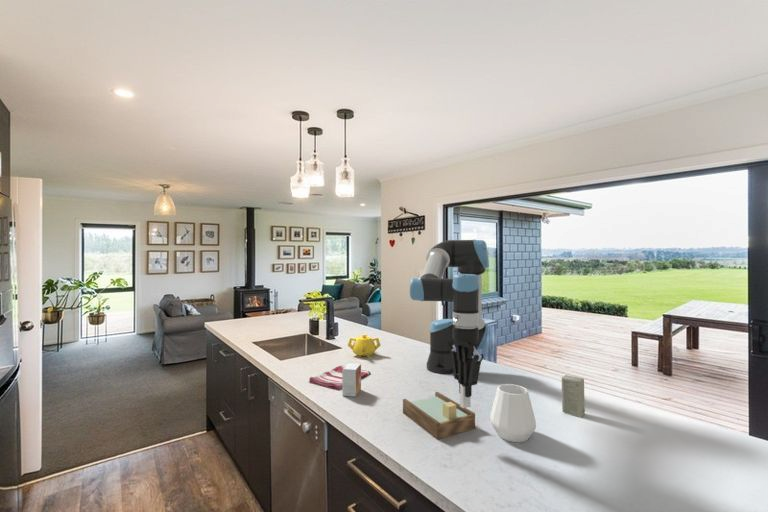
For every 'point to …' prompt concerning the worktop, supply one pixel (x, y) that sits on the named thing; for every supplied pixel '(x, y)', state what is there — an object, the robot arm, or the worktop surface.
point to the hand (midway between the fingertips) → (465, 406)
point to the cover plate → (439, 409)
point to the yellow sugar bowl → (364, 345)
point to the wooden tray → (440, 428)
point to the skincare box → (573, 395)
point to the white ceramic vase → (512, 413)
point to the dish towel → (333, 378)
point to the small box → (351, 380)
